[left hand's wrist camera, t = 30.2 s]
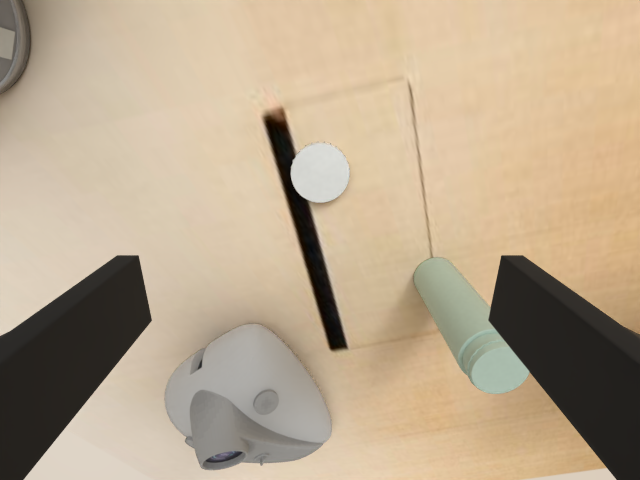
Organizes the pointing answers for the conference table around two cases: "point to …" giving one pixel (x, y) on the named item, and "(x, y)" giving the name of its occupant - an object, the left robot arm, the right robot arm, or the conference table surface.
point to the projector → (247, 401)
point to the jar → (468, 327)
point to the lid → (320, 172)
